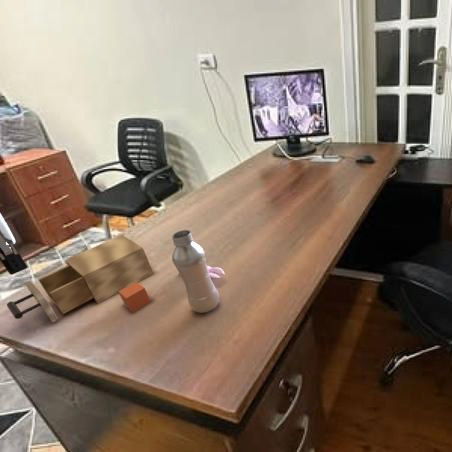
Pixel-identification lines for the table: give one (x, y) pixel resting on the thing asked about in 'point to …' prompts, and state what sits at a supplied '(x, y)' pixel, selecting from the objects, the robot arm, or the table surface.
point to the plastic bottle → (194, 272)
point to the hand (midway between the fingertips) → (18, 270)
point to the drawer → (56, 293)
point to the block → (134, 296)
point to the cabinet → (111, 266)
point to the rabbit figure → (214, 272)
